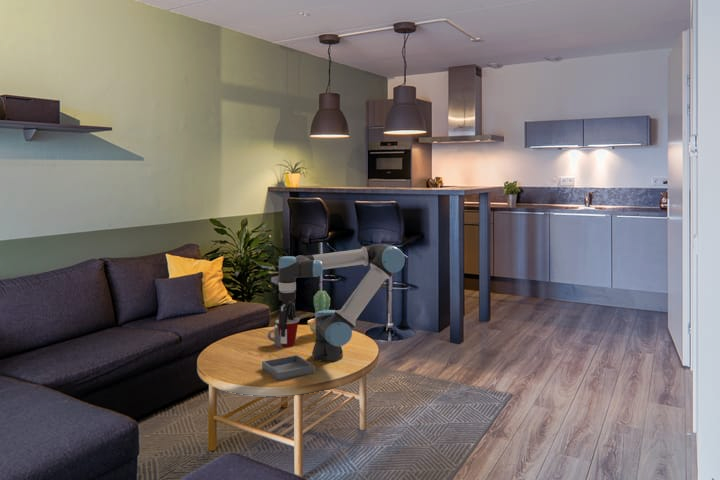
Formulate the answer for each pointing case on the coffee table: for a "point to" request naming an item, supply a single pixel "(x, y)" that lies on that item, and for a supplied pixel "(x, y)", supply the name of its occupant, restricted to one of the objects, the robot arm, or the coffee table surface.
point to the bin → (287, 367)
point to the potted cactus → (319, 307)
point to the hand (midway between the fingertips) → (287, 340)
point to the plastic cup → (289, 331)
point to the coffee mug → (275, 337)
